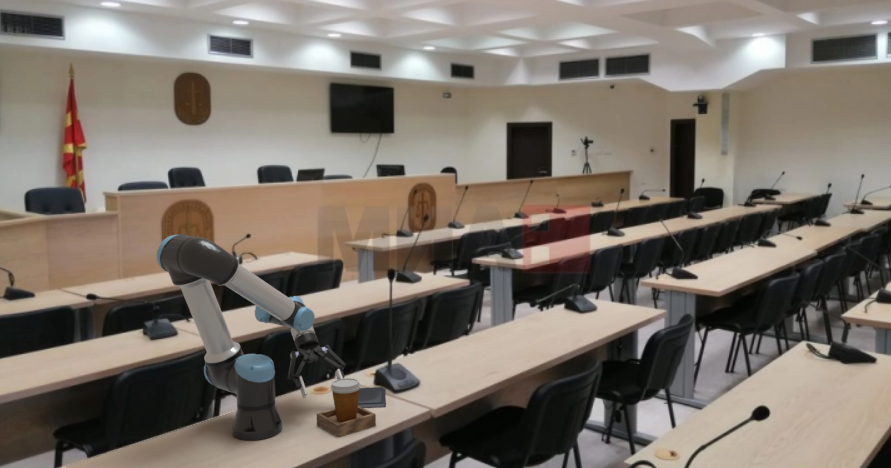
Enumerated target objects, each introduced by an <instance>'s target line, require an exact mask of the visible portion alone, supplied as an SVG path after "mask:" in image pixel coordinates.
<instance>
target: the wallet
mask: <svg viewBox="0 0 891 468" xmlns="http://www.w3.org/2000/svg"><path fill="white" fill-rule="evenodd" d="M386 390H387V389H386V388H385V387H382V386H377V387H375V386H374V387H360V389H359V397H358V406H360V407H362V408H364V409H374V408H375V409H379V408H386V407H387V399H386Z"/></svg>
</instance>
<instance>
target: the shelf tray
mask: <svg viewBox="0 0 891 468" xmlns="http://www.w3.org/2000/svg"><path fill="white" fill-rule="evenodd" d="M376 418H377V415H376V413H374V412H372V411H369V410H368V409H367V408H362V407H360V406H358V408H357V418H356V419H352V420H349V421H345V422H339V421H337V417H336V411H335V408H332V409H329V410H326V411H325V410H324V411H321V412H319V413H316V426H318V427H319V428H321V429H323V430H325V431H326V432H329V434H332V435H333V436H336V437H337V438H339V437H340V438H341V437H344V436H346V435H349V434H353V433H356V432H359V431H362V430H367V429H369V428H372V427H376V425H377V423H376V422H377V421H376V420H377V419H376Z"/></svg>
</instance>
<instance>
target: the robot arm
mask: <svg viewBox="0 0 891 468" xmlns="http://www.w3.org/2000/svg"><path fill="white" fill-rule="evenodd" d="M156 261H157V264H158V266H159V267H160V268H161V269H162V270H163V271H165V272H167V273H168V274H169V275H168V276H169V277H170V279H171V282H172V284H173V286H175V287H177V288H180V290H181V293H182V295H183V297H184V300H185V302H186V304H187V307H188V309H189V312H190V314H191V316H192V320H193V321H194V324H195V327H196V329H197V331H198V335H199V336H200V339H201V341H202V344H203V346H204V348H205V350H206V351H205V352H206V353H205V355H204V357H203V358H204V363H205V364H204V366H203V373H204V377H205V379H206V381H207V382H208V383H209V384H210V385H212V386H214V388H217V389H220V390H223V391H227V392H230V393H232V394H235V395H236V412H235V416H234V420H233V422H232V426H231V428H232V430H231V432H232V433H231V434H232V436H233V437H234V438H236V439H238V440H243V441H259V440H264V439H267V438H272V437H274V436H276V435H278V434H279V433H281V432H282V430H283V421H282V418H281V415H280V413H279V410H278V408H277V404H276V385H275V384H276V383H275V382H276V381H275V380H276V378H275V377H276V376H275V375H276V370H275V365H274V364H275V363H274V361H273V360H272V358H270V357H269V356H267V355H265V354H260V353H259V354H256V353H247V354H244V352H243V350H242V347H241V345H240V343H239V342H236V341H234V340H233V337H232V335H231V332H230V330H229V327H228V325H227V322H226V320H225V317H224V314H223V312H222V310H221V307H220V303H219V302H218V299H217V297H216V294H215V291H214V289H213V286H212V284H211V282H212V283H213V284H215V285H217V286H219V287H220V286H225V287H227V288H228V289H230V290H231V291H233V292H235V293H236V294H238V295H240V296H241V297H242V298H243V299H245V300H247V301H249V302H250V303H252V304H253V305H255V308H254V316H255V318H256V320H257V321H258V322H260V323H265V324H274V325H276V326H282V327H286V328H289V331H290V333H291V336H292V338H293V341H294V344H295V348H296V349H297V351H295V350H292V351H291V352H290V355H289V359H290V362H289V363H290V364H289V369H288V374H287V380H289V381H291V380H292V382H294V384H295V386H296V388H297V389H299V390H300V393H301V395H302V398H303V399H306V398H307V396H308V391H307V388H306V384H305V383H304V380H303V376H302V375H300V374H301V372H302V370H303V367H304V366H305V364H306V363H308V364H310V363H311V364H312V363H315V362H316V363H317V362H318V363H319V362H320V363H322V364H324V365H326V366H327V367H329V368H330V369H333V371H335V373H334V374H335V378H336V380H338V379H343V378H345V374H344V369H345V367H346V365H347V364H346V363H345V361H343V360H342V358H340V357H339V356H338V355H337V354H336V352H334V351H333V350H332V348H331V346H330V345H329V344H326V345H325V346H320V342H319V340H318V337H317V335H316V332H315V329H314V326H313V325H314V323H315V321H316V320H315V319H316V317H315V313H314V311H313V310H312V309H311V308H309V307H307V305H306V304H305V303H304V300H303V299H302V297H300V296H298V295H294V296H289V297H288V296H287V295H285V294H284V293H282V292H281V291H280V290H278V289H276V288H275V287H274V286H272V285H271V284H269V283H267V282H266V281H265V280H263V279H262V278H260V277H259V276H258V275H256V274H254V273H253V272H251V271H250V270H249V269H247V268H246V267H244V266H243V265H241V264H240V260H239V259H238V258H237V257H235V256H234V255H233V254H231V253H230V252H228V251H227V250H226V249H224V248H223V247H221V246H220V245H218V244H217V243H215V242H214V241H212V240H211V239H208V238H206V237H201V236H192V235H187V234H172V235H169V236H167V237H166V238H165V239H163V240H162V241H161V242H160V244H159V246H158V249H157V251H156ZM298 357H299V358H300V359H302V360H301V362H300V364H299V367H298V368H297V371H296V372H294V371H295V368H296V367H295V365H296V360H297V359H298ZM294 373H295V374H294Z"/></svg>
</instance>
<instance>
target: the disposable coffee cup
mask: <svg viewBox="0 0 891 468" xmlns="http://www.w3.org/2000/svg"><path fill="white" fill-rule="evenodd" d="M329 388H330V390H331V392H332V399H333V405H334V409H335V411H336V417H337V421H339V422H345V421H349V420H352V419H356V418H357V408H358V397H359V389H360V388H361V384H360V381H359V380H358V379H357V378H351V377H349V378H348V377H347V378H346V377H344V378H343V379H338V380H337V379H335V380H333V381H332V382H331V385H330V387H329Z"/></svg>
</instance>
